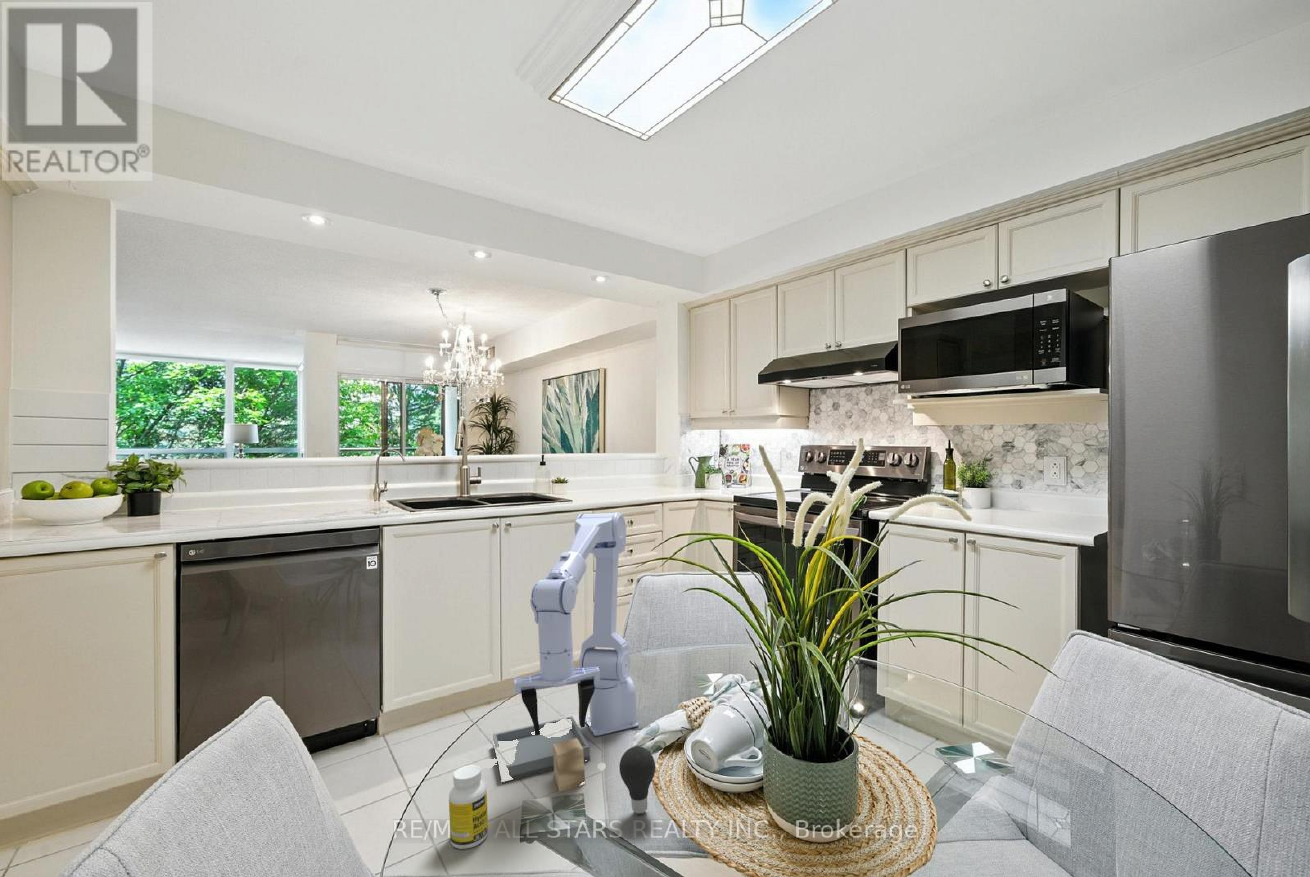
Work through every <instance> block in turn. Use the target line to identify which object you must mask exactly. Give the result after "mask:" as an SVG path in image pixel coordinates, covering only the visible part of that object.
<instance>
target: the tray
mask: <svg viewBox="0 0 1310 877" xmlns="http://www.w3.org/2000/svg"><path fill="white" fill-rule="evenodd" d="M565 718H566V719H571V721H572V729H570V730H569V733H567V734H566V735H563V736H561V737H551V738H547V737H545V736H543V735H537V736H536V735H532V734H531V732H534V731H535V729H534V725H533V724H532V725H527V726H523V727H519V728H515V729H510V730H505V731H502V732H497V733H493V734H492V741H494V744H495V747H496V748H497V747H499V744H498V741H513V740H516V739H517V740H518V741H519V742H518V744H517V746H516V750H517V751H516V753H515V760H514V762H513V763H512V764H510V765H506V767H507V768H508V770H509V775H510V776H511V777H512V778H513V779H514V780H515V781H516V780H520V779H522V778H527V777H531V776H534V775H539V774H542V773H547V772H550V771H554V758H553V744H554V743H558V742H563V741H567V740H571V739H575V738H577V739H578V740H579V742H580V744H581V746H582V748H583V755H584V761H585V760H588V761H591V753H590V752H591V750H590V749H591V748H590V745H589V743H588V741H587V739H586V738H585V736H584V734H583V732H582V730H581V729H580V727H579V726H578V724H577V722H576V721H575V718H574V717H573V716H572V715H571V716H567V717H565ZM561 719H562V718H559V719H554V720H550V721H545V722H541V723H539V730H540V729H541V728H543V727H544V725H545V724H546V723H556V722H558V721H560V720H561ZM588 761H587V762H588ZM514 780H513V781H514Z"/></svg>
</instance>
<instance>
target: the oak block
mask: <svg viewBox="0 0 1310 877" xmlns="http://www.w3.org/2000/svg"><path fill="white" fill-rule="evenodd" d="M553 758H554V770H553V773H554V780H555V783H556V786H557V788H558V791H559V792H563V791H566V790H570V789H574V788H577V787H580V786H579V785H580V784H581V783H582V782H584V781H585V782H586V777H585V776H586V774H585V762H584V755H583V748H582V746H581V744H580V742H579V740H578V739H577V738H575V739H571V740H567V741H563V742H558V743H554V744H553Z"/></svg>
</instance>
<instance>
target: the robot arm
mask: <svg viewBox="0 0 1310 877" xmlns="http://www.w3.org/2000/svg"><path fill="white" fill-rule="evenodd" d="M626 540H627V524H626V521H625V517H624V515H623V514H622V513H621V512H620V511H616V512H608V513H606V512H604V513H603V512H602V513H601V512H600V513H584V512H582V513H579V514H578V516H577V517H576V519H575V522H574V538H573V541H572V542H571V545H570V546H569V549H568V551H563V552H562V553H561V554H560V555H559V556H558V557H557V559H556V560H555V562H554V564H553V566H552V567H551V569H550V570H549V572H548V573H547V575H546V576H545V579H544V578H542V579H539V580H538V582H535V583H534V585H533V586H532V589H531V594H530V599H529V601H530V602H529V603H530V606H531V610H532V612H533V615H534V622H535V623H536V624H537V629H538V632H537V633H538V646H539V647H538V648H539V649H538V650H539V651H538V652H539V670H540V672H537V673H534V674H532V675H528V676H527V675H526V676H524V677H520V678H514V680H513V682H514V684H513V685H514V687H513V688H514V695H521V700H522V703H523V705H524V706H525V708H526V710H527V712H528V714H529V716H530V719H531V721H532V725H534V729H535V735H536V736H537V735H540V731H539V724H540V723H539V713H538V712H539V711H538V696H537V691H538V690H544V689H550V688H560V687H565V686H569V685H575V684H577V693H578V722H579V726H580V727H579V728H585V726H586V722H591V726H589V727H588V728H589V729H590V732H591V733H592V732H593V733H592V735H593V737H599V736H602V735H607V734H611V733H614V732H618V731H623V730H628V729H631V728H635V727H638V726H639V722H638V714H637V713H638V712H637V697H636V688H635V684H634V680H633V679H632V678H631V677H630V676H629V675H630V671H631V656H630V650H629V648H630V647H629V643H628V642H627V641H626V639H624V638H623V637H622V636H621V635H620V634H618V632H617V615H618V614H617V613H618V581H619V580H618V579H619V578H618V577H619V575H618V574H619V572H618V571H619V555H620V554H621V553H624V551H625V550H626V545H627V544H626V542H627V541H626ZM590 554H591V555H592V554H593V556H594V558H595V576H594V577H595V578H594V579H595V580H594V601H593V602H594V603H593V607H594V608H593V624H592V625H593V628H592V629H593V630H592V634H591V635H589V637H587V638H586V639H585V640H584V641H583V642H582V644H581V649H580V654H579V658H578V664H577V665H578V667H575V666H574V648H573V647H574V645H573V630H572V626H573V624H572V612H573V610H574V609H575V606H576V602H577V595H578V592H579V588H578V586H579V584H580V582H581V581H582V578H583V576H584V575H585V572H586V571H587V563H586V559H587V558H588V557H589V556H590ZM606 648H608V649H606ZM609 648H610V649H609ZM588 710H589V717H587V714H588ZM585 721H586V722H585Z"/></svg>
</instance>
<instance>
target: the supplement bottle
mask: <svg viewBox="0 0 1310 877" xmlns="http://www.w3.org/2000/svg"><path fill="white" fill-rule="evenodd" d="M452 777H453V778H452V779H453V786H452V787H451V789H450V790H449V793H448V807H449V808H448V809H449V816H448V818H449V838H450V844H451V845H452V847H454V848H456V849H459V850H460V849H461V850H466V849H471V848H474V847H476V846H478V845H479V844H481V843H483V842H484V841H485V839H487V837H488V834H489V833H488V832H489V821H488V820H489V818H488V797H487V796H488V794H487V793H488V791H487V785H486V783H485V781H484V780H482V769H481V767H480V766H479V765H478V764H477V765H476V764H469V765H464V766H462V767H460V768H458V769H456V770H455V771H454V772H453V776H452Z"/></svg>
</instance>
